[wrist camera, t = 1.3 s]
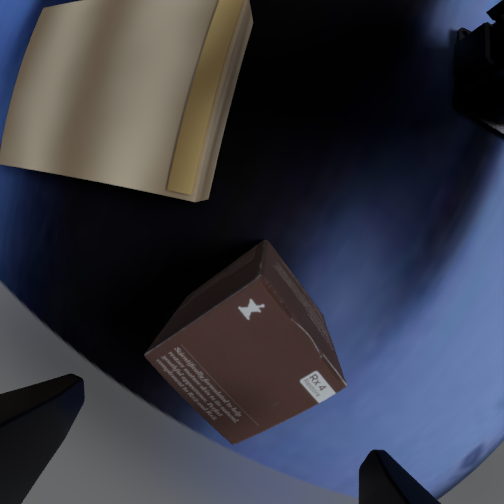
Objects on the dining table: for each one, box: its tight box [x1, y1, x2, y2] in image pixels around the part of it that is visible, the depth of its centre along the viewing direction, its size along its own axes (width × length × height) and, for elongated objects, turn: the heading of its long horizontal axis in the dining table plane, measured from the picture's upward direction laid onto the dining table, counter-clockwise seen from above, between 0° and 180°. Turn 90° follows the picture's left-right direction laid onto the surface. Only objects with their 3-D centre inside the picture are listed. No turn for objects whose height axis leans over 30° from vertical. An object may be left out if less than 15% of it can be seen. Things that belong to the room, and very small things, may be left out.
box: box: [144, 240, 347, 444], centre depth 15 cm, size 6×6×7 cm
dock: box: [0, 0, 253, 202], centre depth 15 cm, size 14×11×3 cm
